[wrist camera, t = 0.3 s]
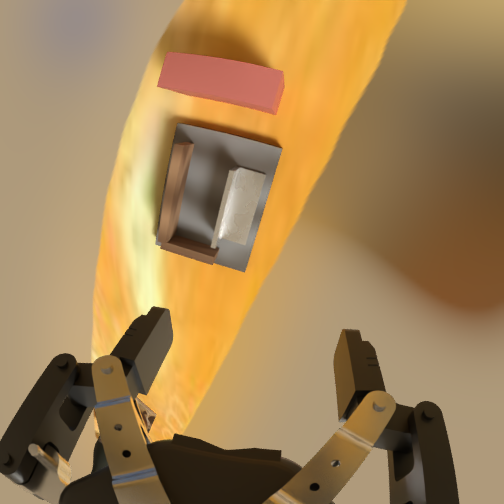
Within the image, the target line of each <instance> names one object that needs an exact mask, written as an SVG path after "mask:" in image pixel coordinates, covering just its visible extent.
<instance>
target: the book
mask: <svg viewBox="0 0 504 504" xmlns="http://www.w3.org/2000/svg"><path fill="white" fill-rule="evenodd" d="M157 87H160V88H164V89H168V90H171V91H175V92H178V93H182V94H185V95H188V96H194V97H199V98H205V99H210V100H215V101H220V102H225V103H229V104H234V105H238V106H243V107H247V108H251V109H255V110H259V111H262V112H266V113H270V114H274V115H276V114H277V110H278V107H279V104H280V100H281V97H282V94H283V90H284V76H283V71H280V70H276V69H272V68H268V67H264V66H259V65H255V64H250V63H245V62H240V61H235V60H229V59H223V58H217V57H210V56H203V55H195V54H186V53H175V52H167V54H166V57H165V61H164V64H163V67H162V71H161V74H160V78H159V81H158V85H157Z"/></svg>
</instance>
